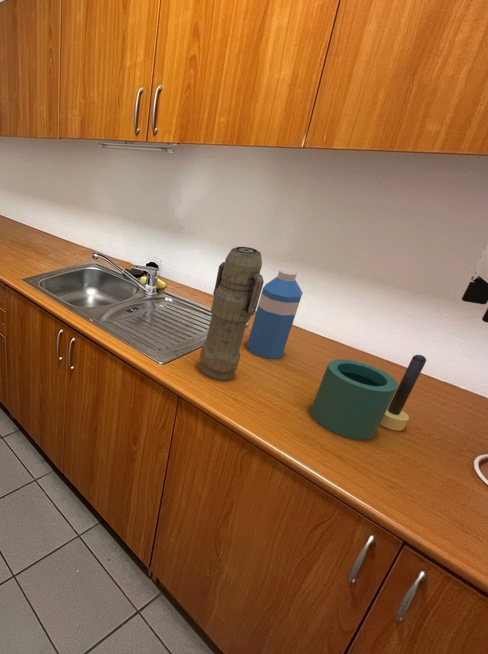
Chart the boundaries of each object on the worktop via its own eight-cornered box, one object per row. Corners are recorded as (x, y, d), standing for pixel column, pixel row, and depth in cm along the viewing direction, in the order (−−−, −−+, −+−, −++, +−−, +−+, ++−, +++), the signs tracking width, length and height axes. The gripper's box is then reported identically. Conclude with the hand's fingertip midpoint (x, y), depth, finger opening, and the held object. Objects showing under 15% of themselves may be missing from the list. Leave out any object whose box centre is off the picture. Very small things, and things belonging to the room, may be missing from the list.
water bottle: (287, 361, 111) (315, 280, 101) (249, 355, 114) (272, 276, 104) (278, 344, 119) (302, 267, 109) (242, 339, 122) (263, 264, 112)
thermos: (209, 356, 114) (237, 240, 100) (247, 379, 104) (283, 254, 90) (186, 362, 111) (211, 244, 98) (221, 387, 101) (255, 260, 87)
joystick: (400, 420, 90) (434, 353, 83) (406, 434, 86) (442, 365, 79) (371, 412, 92) (401, 346, 85) (375, 425, 88) (407, 357, 81)
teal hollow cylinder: (369, 415, 91) (391, 369, 86) (379, 447, 83) (404, 398, 77) (308, 398, 97) (325, 353, 92) (312, 426, 88) (331, 379, 83)
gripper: (599, 239, 58) (538, 338, 65) (539, 215, 72) (493, 299, 78) (522, 232, 62) (472, 326, 69) (478, 210, 75) (439, 291, 82)
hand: (483, 312), depth 74 cm, fingers open, 9 cm apart
